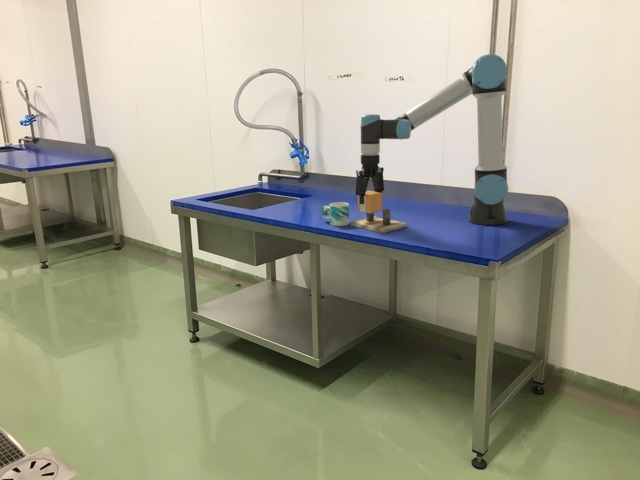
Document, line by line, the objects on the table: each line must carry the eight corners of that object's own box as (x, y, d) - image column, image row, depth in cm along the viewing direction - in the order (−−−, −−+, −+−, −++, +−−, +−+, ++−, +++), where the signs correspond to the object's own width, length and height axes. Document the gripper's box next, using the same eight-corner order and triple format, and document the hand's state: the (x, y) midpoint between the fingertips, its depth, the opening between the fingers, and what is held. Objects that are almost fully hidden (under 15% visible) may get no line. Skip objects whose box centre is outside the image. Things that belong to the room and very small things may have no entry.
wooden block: (369, 208, 224) (369, 190, 222) (381, 210, 219) (382, 192, 217) (357, 210, 220) (357, 192, 218) (370, 213, 215) (370, 195, 213)
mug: (341, 226, 218) (341, 206, 216) (318, 223, 225) (317, 203, 223) (352, 222, 225) (352, 203, 222) (329, 219, 232) (329, 200, 229)
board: (406, 226, 215) (406, 208, 213) (382, 233, 207) (383, 214, 205) (374, 219, 228) (374, 202, 226) (350, 225, 220) (350, 207, 218)
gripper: (380, 151, 222) (379, 205, 228) (345, 155, 210) (346, 212, 216) (393, 152, 217) (393, 207, 223) (359, 157, 204) (359, 215, 210)
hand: (369, 210), depth 219 cm, fingers closed on wooden block, 7 cm apart
